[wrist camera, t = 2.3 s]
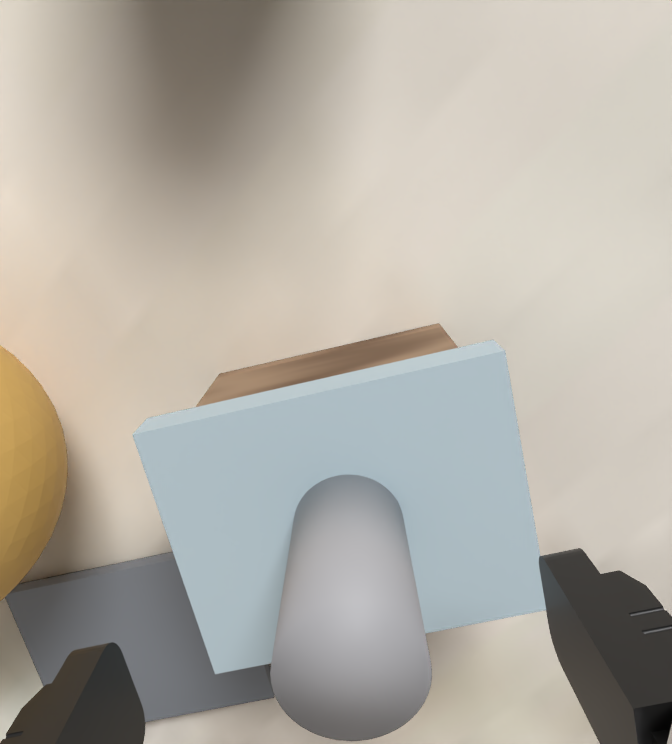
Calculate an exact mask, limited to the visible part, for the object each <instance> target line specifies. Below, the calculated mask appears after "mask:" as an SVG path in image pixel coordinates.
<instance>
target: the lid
mask: <svg viewBox="0 0 672 744" xmlns="http://www.w3.org/2000/svg"><path fill="white" fill-rule="evenodd" d="M132 435H133V438H134V441H135V444H136V447H137V449H138V452H139V455H140V458H141V461H142V464H143V467H144V470H145V473H146V475H147V478H148V481H149V484H150V487H151V490H152V493H153V496H154V499H155V502H156V504H157V507H158V510H159V513H160V516H161V519H162V522H163V525H164V528H165V531H166V533H167V536H168V539H169V542H170V545H171V548H172V551H173V554H174V557H175V559H176V562H177V565H178V568H179V571H180V574H181V577H182V580H183V583H184V586H185V588H186V591H187V594H188V597H189V600H190V603H191V606H192V609H193V612H194V615H195V617H196V620H197V623H198V626H199V629H200V632H201V635H202V638H203V641H204V643H205V646H206V649H207V652H208V655H209V658H210V661H211V664H212V667H213V670H214V672H215V674H219V673H224V672H229V671H234V670H239V669H245V668H250V667H255V666H260V665H265V664H270V663H271V670H270V676H271V684H272V688H273V692H274V694H275V697H276V699H277V701H278V703H279V704H280V706H281V707H282V709H283V710H284V711H285V713H286V714H287V715H288V716H289V717H290V718H291V719H292V720H293V721H295V722H296V723H297V724H299V725H300V726H301V727H303V728H305V729H307V730H308V731H310V732H312V733H315V734H317V735H320V736H323V737H326V738H330V739H335V740H343V741H360V740H368V739H373V738H377V737H380V736H383V735H386V734H388V733H390V732H392V731H394V730H396V729H398V728H400V727H401V726H403V725H404V724H406V723H407V722H408V721H409V720H410V719H411V718H413V716H414V715H415V714H416V713H417V712H418V711H419V710H420V708H421V707H422V705H423V704H424V702H425V700H426V698H427V696H428V693H429V690H430V686H431V680H432V668H431V661H430V656H429V650H428V645H427V640H426V635H425V633H430V632H436V631H441V630H446V629H451V628H456V627H461V626H467V625H472V624H477V623H482V622H487V621H492V620H498V619H503V618H508V617H513V616H518V615H523V614H529V613H534V612H539V611H544V610H546V606H545V599H544V593H543V587H542V581H541V575H540V569H539V557H540V551H539V545H538V540H537V534H536V528H535V522H534V516H533V511H532V505H531V499H530V493H529V487H528V481H527V476H526V470H525V464H524V458H523V452H522V447H521V441H520V435H519V429H518V423H517V417H516V412H515V406H514V400H513V394H512V388H511V383H510V377H509V371H508V365H507V359H506V353H505V350H504V349H503V348H502V347H500V346H499V345H498V344H497V343H496V342H495V341H494V340H490V341H485V342H481V343H477V344H472V345H468V346H463V347H459V348H454V349H450V350H446V351H441V352H437V353H432V354H428V355H424V356H419V357H415V358H410V359H406V360H402V361H397V362H393V363H388V364H384V365H379V366H375V367H371V368H366V369H362V370H357V371H353V372H349V373H344V374H340V375H335V376H331V377H327V378H322V379H318V380H313V381H309V382H304V383H300V384H296V385H291V386H287V387H282V388H278V389H274V390H269V391H265V392H260V393H256V394H252V395H247V396H243V397H238V398H234V399H230V400H225V401H221V402H216V403H212V404H207V405H203V406H199V407H194V408H190V409H185V410H181V411H177V412H172V413H168V414H163V415H159V416H155V417H150V418H147V419H146V420H145V421H144V422H143V423H142V425H141V426H140V427H139V428H138V429H137V430H136V431H135V432H134V433H133V434H132Z"/></svg>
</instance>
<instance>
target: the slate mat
mask: <svg viewBox="0 0 672 744" xmlns="http://www.w3.org/2000/svg"><path fill="white" fill-rule="evenodd" d="M5 598H6V600H7V603H8V605H9V607H10V610H11V612H12V614H13V617H14V619H15V621H16V623H17V626H18V628H19V630H20V633H21V635H22V637H23V640H24V642H25V644H26V646H27V649H28V651H29V653H30V656H31V658H32V660H33V663H34V665H35V667H36V670H37V672H38V674H39V676H40V679H41V681H42V683H43V686H45V685H46V684H51V683H52V682H53V680H54V679H55V677H56V675H57V674H58V672H59V670H60V669H61V667H62V665H63V664H64V662H65V660H66V658H67V657H68V655H69V654H70V653H71V652H72V651H73V650H77V649H82V648H86V647H91V646H96V645H101V644H106V643H111V642H114V643H116V644H117V645H118V646H119V647H120V649H121V651H122V653H123V656H124V659H125V661H126V664H127V667H128V669H129V672H130V675H131V677H132V680H133V683H134V685H135V688H136V691H137V693H138V696H139V698H140V701H141V704H142V707H143V711H144V716H145V722H148V721H153V720H159V719H164V718H169V717H174V716H180V715H185V714H190V713H195V712H201V711H206V710H211V709H217V708H222V707H227V706H232V705H238V704H243V703H248V702H254V701H259V700H264V699H269V698H274V695H275V694H274V692H273V688H272V684H271V676H270V667H269V664H265V665H260V666H255V667H250V668H245V669H239V670H234V671H229V672H224V673H219V674H215V672H214V670H213V667H212V664H211V661H210V658H209V655H208V652H207V649H206V646H205V643H204V641H203V638H202V635H201V632H200V629H199V626H198V623H197V620H196V617H195V615H194V612H193V609H192V606H191V603H190V600H189V597H188V594H187V591H186V588H185V586H184V583H183V580H182V577H181V574H180V571H179V568H178V565H177V562H176V559H175V557H174V554H173V552H170V553H165V554H160V555H155V556H150V557H146V558H141V559H136V560H131V561H127V562H122V563H117V564H112V565H108V566H103V567H98V568H93V569H88V570H84V571H79V572H74V573H69V574H65V575H60V576H55V577H50V578H46V579H41V580H36V581H31V582H26V583H22V584H18V585H17V586H16V587H15V588H14V589H13V590H12V591H11V592H10V593H9V594H8V595H7V596H6V597H5Z"/></svg>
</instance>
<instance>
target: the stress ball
mask: <svg viewBox="0 0 672 744" xmlns="http://www.w3.org/2000/svg"><path fill="white" fill-rule="evenodd" d="M67 468H68V466H67V449H66V444H65V439H64V434H63V429H62V426H61V423H60V421H59V418H58V415H57V413H56V410H55V408H54V406H53V404H52V402H51V401H50V399H49V397H48V396H47V394H46V392H45V391H44V389H43V387H42V386H41V384H40V383H39V382H38V381H37V379H36V378H35V377H34V376H33V374H32V373H31V372H30V371H29V370H28V369H27V368H26V367H25V366H24V365H23V364H22V363H21V362H20V361H19V360H18V359H17V358H16V357H15V356H14V355H13V354H11V353H10V352H9V351H7V350H6V349H4V348H3V347H2V346H0V601H1V600H2V599H3V598H4V597H6V596H7V595H8V594H9V593H10V592H11V591H12V590H13V589H14V588H15V587H16V586H17V585H18V584H19V582H20V581H21V580H22V579H23V578H24V576H25V575H26V574H27V573H28V572H29V570H30V569H31V568H32V566H33V565H34V564H35V563H36V561H37V560H38V558H39V557H40V555H41V553H42V552H43V550H44V548H45V546H46V545H47V543H48V541H49V540H50V538H51V536H52V533H53V531H54V528H55V526H56V524H57V521H58V519H59V516H60V514H61V509H62V505H63V501H64V497H65V492H66V485H67Z"/></svg>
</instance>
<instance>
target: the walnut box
mask: <svg viewBox="0 0 672 744" xmlns="http://www.w3.org/2000/svg"><path fill="white" fill-rule="evenodd" d="M454 348H458V347H457V346H456V344H455V343H454V342H453V340H452V339H451V338H450V337H449V335H448V334H447V333H446V332H445V330H444V329H443V328H442V327H441V325H440V324H434V325H430V326H426V327H421V328H417V329H413V330H408V331H404V332H399V333H395V334H391V335H386V336H382V337H378V338H373V339H369V340H365V341H360V342H356V343H352V344H347V345H343V346H339V347H334V348H330V349H326V350H321V351H317V352H313V353H308V354H304V355H300V356H295V357H291V358H286V359H282V360H278V361H273V362H269V363H265V364H260V365H256V366H252V367H247V368H243V369H239V370H234V371H230V372H226V373H221V374H219V375H218V377H217V378H216V379H215V381H214V382H213V384H212V385H211V386H210V388H209V389H208V390H207V392H206V393H205V395H204V396H203V397H202V399H201V400H200V401H199V403H198V404H197V406H196V407H199V406H203V405H207V404H212V403H216V402H221V401H225V400H230V399H234V398H238V397H243V396H247V395H252V394H256V393H260V392H265V391H269V390H274V389H278V388H282V387H287V386H291V385H296V384H300V383H304V382H309V381H313V380H318V379H322V378H327V377H331V376H335V375H340V374H344V373H349V372H353V371H357V370H362V369H366V368H371V367H375V366H379V365H384V364H388V363H393V362H397V361H402V360H406V359H410V358H415V357H419V356H424V355H428V354H432V353H437V352H441V351H446V350H450V349H454Z"/></svg>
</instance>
